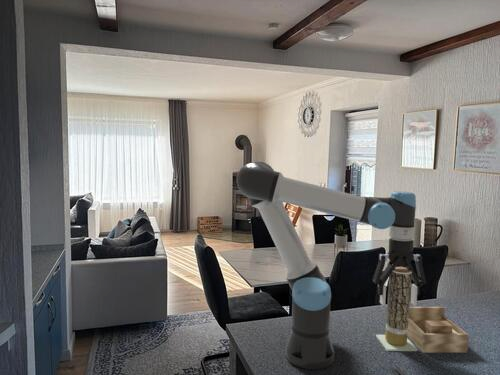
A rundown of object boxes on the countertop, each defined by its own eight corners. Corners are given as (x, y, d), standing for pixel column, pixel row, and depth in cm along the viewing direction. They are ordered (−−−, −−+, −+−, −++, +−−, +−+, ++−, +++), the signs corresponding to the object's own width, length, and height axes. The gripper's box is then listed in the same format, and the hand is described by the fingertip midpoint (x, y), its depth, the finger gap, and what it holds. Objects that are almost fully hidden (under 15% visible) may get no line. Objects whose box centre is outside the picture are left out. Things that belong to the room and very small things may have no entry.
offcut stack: (426, 350, 122) (428, 326, 121) (420, 344, 126) (421, 320, 125) (459, 350, 122) (461, 326, 121) (452, 344, 126) (454, 320, 125)
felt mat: (387, 351, 121) (387, 349, 121) (375, 336, 131) (375, 334, 131) (417, 351, 121) (417, 349, 121) (403, 336, 131) (403, 334, 131)
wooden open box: (423, 352, 120) (424, 325, 119) (402, 330, 135) (403, 306, 134) (467, 352, 121) (469, 325, 120) (442, 330, 136) (443, 306, 135)
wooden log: (408, 347, 122) (414, 273, 120) (386, 345, 123) (391, 271, 121) (404, 337, 128) (409, 267, 126) (383, 335, 130) (388, 265, 128)
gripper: (371, 240, 119) (368, 308, 121) (440, 241, 120) (436, 308, 121) (363, 235, 126) (361, 299, 128) (428, 236, 127) (425, 299, 129)
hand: (397, 304), depth 125 cm, fingers open, 10 cm apart
